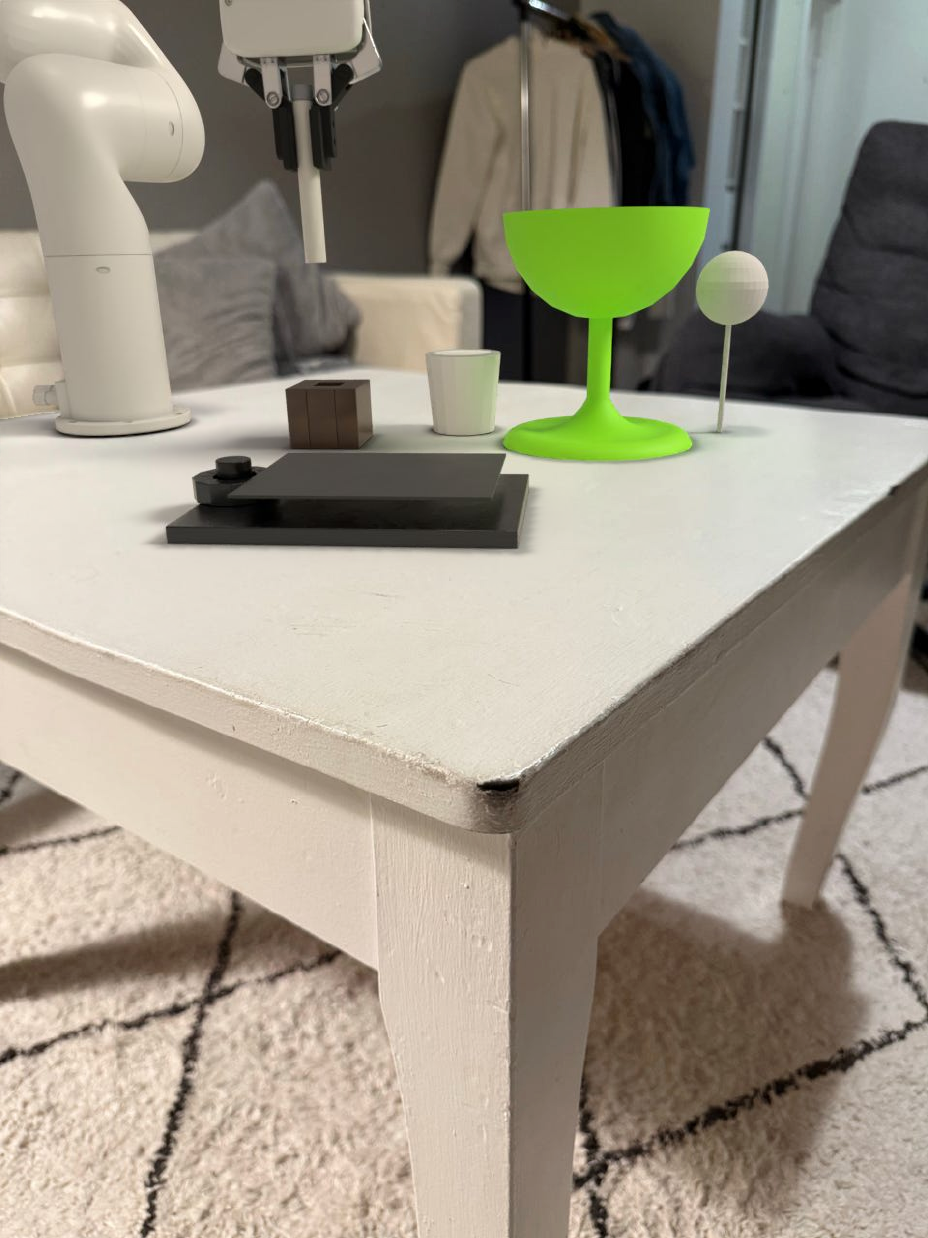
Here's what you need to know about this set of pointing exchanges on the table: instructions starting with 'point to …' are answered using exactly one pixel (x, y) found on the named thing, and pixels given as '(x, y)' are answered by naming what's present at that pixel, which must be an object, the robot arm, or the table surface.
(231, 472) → the button
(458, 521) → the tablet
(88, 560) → the table surface
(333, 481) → the screen
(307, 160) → the stylus
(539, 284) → the wineglass
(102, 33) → the robot arm
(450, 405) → the shot glass
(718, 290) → the lollipop
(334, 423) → the pen stand
